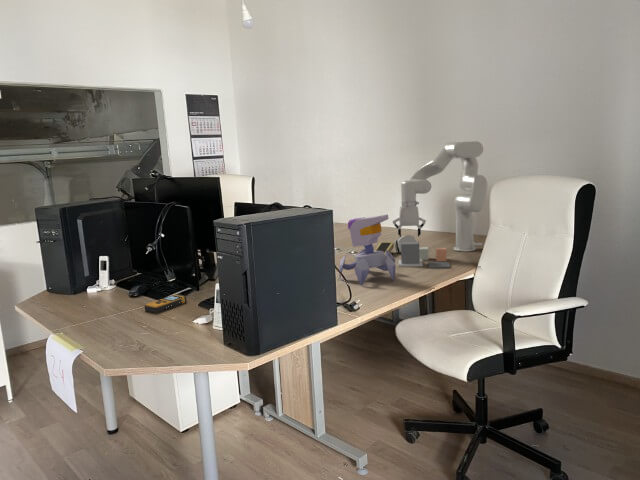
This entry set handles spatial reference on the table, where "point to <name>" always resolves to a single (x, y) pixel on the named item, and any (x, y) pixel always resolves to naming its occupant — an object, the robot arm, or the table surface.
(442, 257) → the terracotta block
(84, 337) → the table surface
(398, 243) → the white curved block
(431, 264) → the mat
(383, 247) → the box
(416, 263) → the mounted unit
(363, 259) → the robotic device
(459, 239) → the robot arm
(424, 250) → the grey block
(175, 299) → the electronic device
